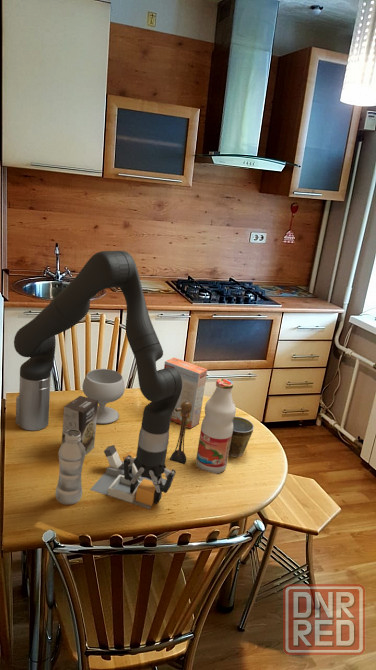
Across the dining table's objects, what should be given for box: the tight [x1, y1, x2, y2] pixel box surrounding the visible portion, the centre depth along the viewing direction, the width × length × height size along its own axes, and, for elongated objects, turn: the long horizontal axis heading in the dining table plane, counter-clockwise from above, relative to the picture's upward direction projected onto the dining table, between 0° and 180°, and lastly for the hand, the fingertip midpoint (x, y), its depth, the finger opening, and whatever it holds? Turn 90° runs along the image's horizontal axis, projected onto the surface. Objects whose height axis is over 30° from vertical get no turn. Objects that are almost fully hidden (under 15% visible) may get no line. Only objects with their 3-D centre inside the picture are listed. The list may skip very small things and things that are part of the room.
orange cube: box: [136, 479, 156, 507], centre depth 136 cm, size 4×4×4 cm
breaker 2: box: [122, 450, 138, 475], centre depth 144 cm, size 2×3×6 cm
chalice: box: [81, 368, 126, 425], centre depth 174 cm, size 14×14×15 cm
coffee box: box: [61, 395, 99, 456], centre depth 152 cm, size 9×6×16 cm
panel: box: [90, 460, 167, 510], centre depth 141 cm, size 17×14×3 cm
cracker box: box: [163, 357, 208, 430], centre depth 178 cm, size 14×6×21 cm, turn 58°
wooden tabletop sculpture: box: [170, 401, 192, 465], centre depth 154 cm, size 6×5×20 cm
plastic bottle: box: [55, 429, 86, 506], centre depth 130 cm, size 6×7×20 cm
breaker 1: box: [103, 444, 122, 469], centre depth 145 cm, size 2×3×6 cm
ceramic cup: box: [228, 416, 255, 458], centre depth 166 cm, size 13×10×10 cm
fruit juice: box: [195, 378, 237, 474], centre depth 153 cm, size 9×9×28 cm
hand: (145, 497), depth 137 cm, fingers closed on panel, 5 cm apart
